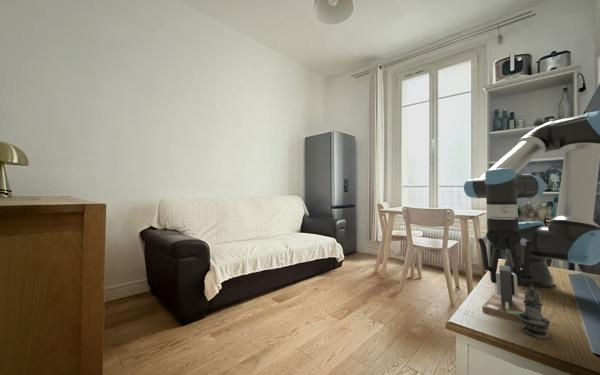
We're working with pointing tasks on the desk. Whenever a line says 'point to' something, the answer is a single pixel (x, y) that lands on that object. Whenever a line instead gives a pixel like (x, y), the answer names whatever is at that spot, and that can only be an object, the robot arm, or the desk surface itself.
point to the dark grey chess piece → (533, 315)
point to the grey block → (505, 286)
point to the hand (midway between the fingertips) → (506, 294)
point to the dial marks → (506, 310)
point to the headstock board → (496, 301)
